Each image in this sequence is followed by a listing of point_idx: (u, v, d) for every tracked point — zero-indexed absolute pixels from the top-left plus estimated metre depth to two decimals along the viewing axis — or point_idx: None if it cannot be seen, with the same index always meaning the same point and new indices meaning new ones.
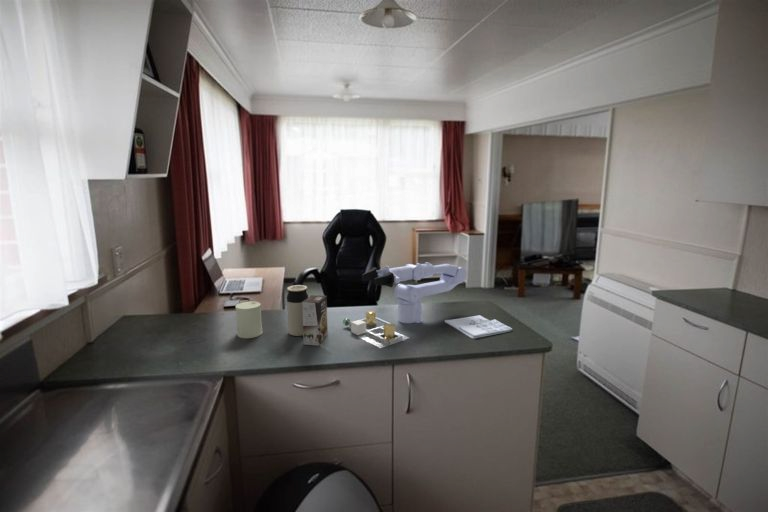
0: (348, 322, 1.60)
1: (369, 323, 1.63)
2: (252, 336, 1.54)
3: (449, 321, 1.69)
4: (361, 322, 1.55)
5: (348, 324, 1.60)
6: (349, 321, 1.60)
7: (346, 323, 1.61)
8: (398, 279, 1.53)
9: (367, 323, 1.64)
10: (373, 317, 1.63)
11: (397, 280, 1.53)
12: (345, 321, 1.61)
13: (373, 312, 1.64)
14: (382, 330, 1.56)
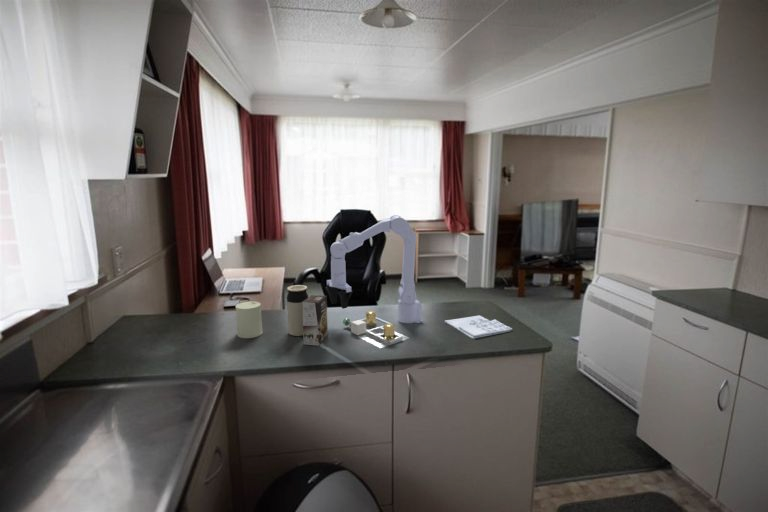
0: (348, 322, 1.60)
1: (369, 323, 1.63)
2: (252, 336, 1.54)
3: (449, 321, 1.69)
4: (361, 322, 1.55)
5: (348, 324, 1.60)
6: (349, 321, 1.60)
7: (346, 323, 1.61)
8: (348, 289, 1.57)
9: (367, 323, 1.64)
10: (373, 317, 1.63)
11: (349, 290, 1.58)
12: (345, 321, 1.61)
13: (373, 312, 1.64)
14: (382, 330, 1.56)
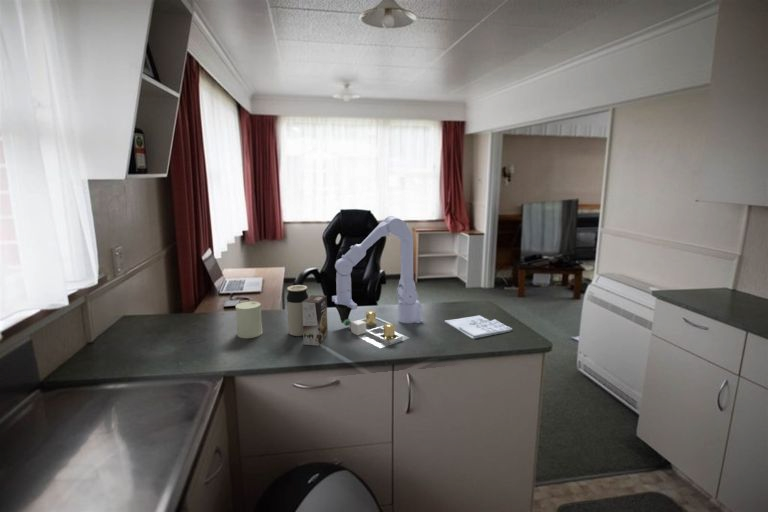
0: (348, 322, 1.60)
1: (369, 323, 1.63)
2: (252, 336, 1.54)
3: (449, 321, 1.69)
4: (361, 322, 1.55)
5: (348, 324, 1.60)
6: (349, 321, 1.60)
7: (346, 323, 1.61)
8: (354, 306, 1.56)
9: (367, 323, 1.64)
10: (373, 317, 1.63)
11: (354, 307, 1.56)
12: (345, 321, 1.61)
13: (373, 312, 1.64)
14: (382, 330, 1.56)
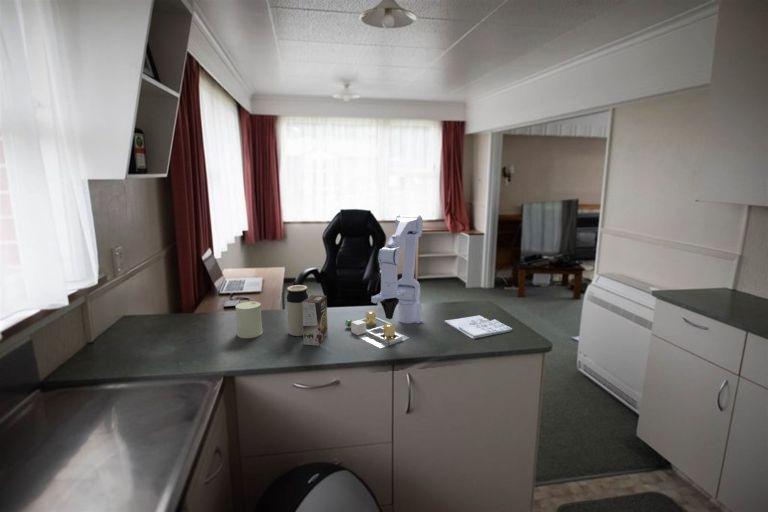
0: (350, 323, 1.59)
1: (369, 323, 1.63)
2: (252, 336, 1.54)
3: (449, 321, 1.69)
4: (361, 322, 1.55)
5: (350, 325, 1.59)
6: None
7: (348, 324, 1.60)
8: (372, 299, 1.42)
9: (367, 323, 1.64)
10: (373, 317, 1.63)
11: (372, 300, 1.42)
12: (347, 322, 1.60)
13: (373, 312, 1.64)
14: (382, 330, 1.56)
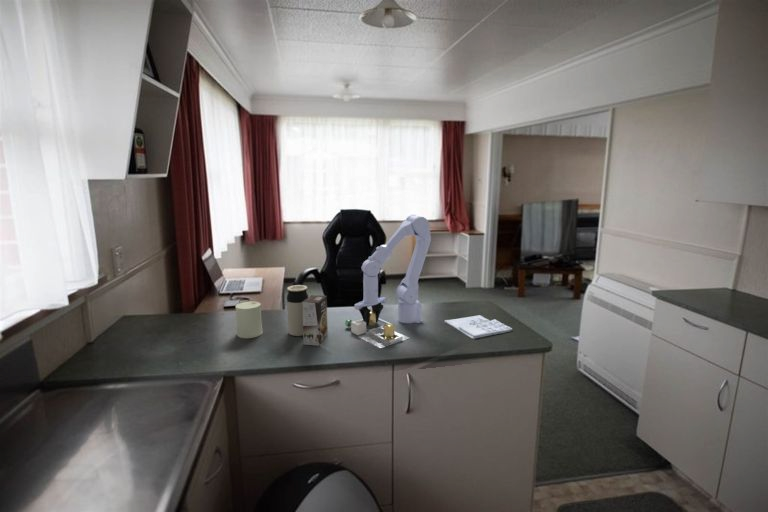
0: (350, 323, 1.59)
1: (369, 323, 1.63)
2: (252, 336, 1.54)
3: (449, 321, 1.69)
4: (361, 322, 1.55)
5: (350, 325, 1.59)
6: None
7: (348, 324, 1.60)
8: (355, 306, 1.59)
9: None
10: (373, 317, 1.63)
11: (355, 307, 1.59)
12: (347, 322, 1.60)
13: (373, 312, 1.64)
14: (382, 330, 1.56)
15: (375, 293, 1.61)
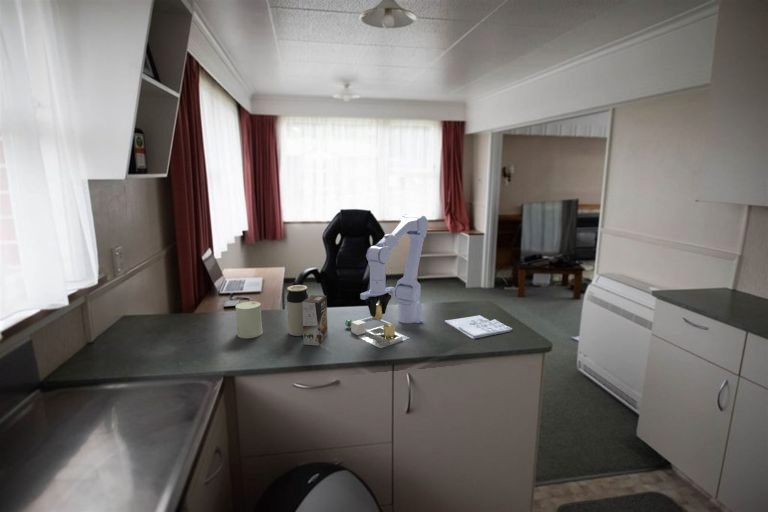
0: (350, 323, 1.59)
1: None
2: (252, 336, 1.54)
3: (449, 321, 1.69)
4: (361, 322, 1.55)
5: (350, 325, 1.59)
6: None
7: (348, 324, 1.60)
8: (361, 295, 1.47)
9: (372, 316, 1.52)
10: (379, 309, 1.51)
11: (361, 297, 1.47)
12: (347, 322, 1.60)
13: (379, 304, 1.52)
14: (382, 330, 1.56)
15: (383, 282, 1.48)
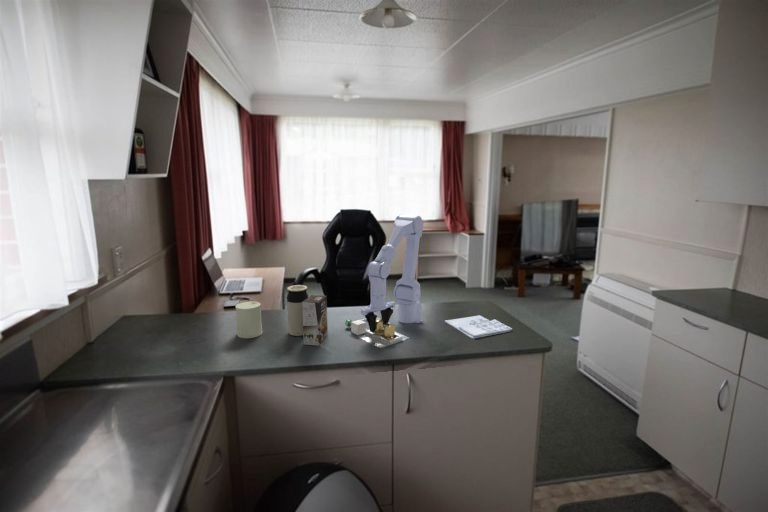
0: (350, 323, 1.59)
1: (375, 332, 1.52)
2: (252, 336, 1.54)
3: (449, 321, 1.69)
4: (361, 322, 1.55)
5: (350, 325, 1.59)
6: None
7: (348, 324, 1.60)
8: (361, 311, 1.47)
9: (373, 332, 1.53)
10: (380, 326, 1.52)
11: (362, 312, 1.47)
12: (347, 322, 1.60)
13: (380, 320, 1.53)
14: None
15: (383, 297, 1.49)
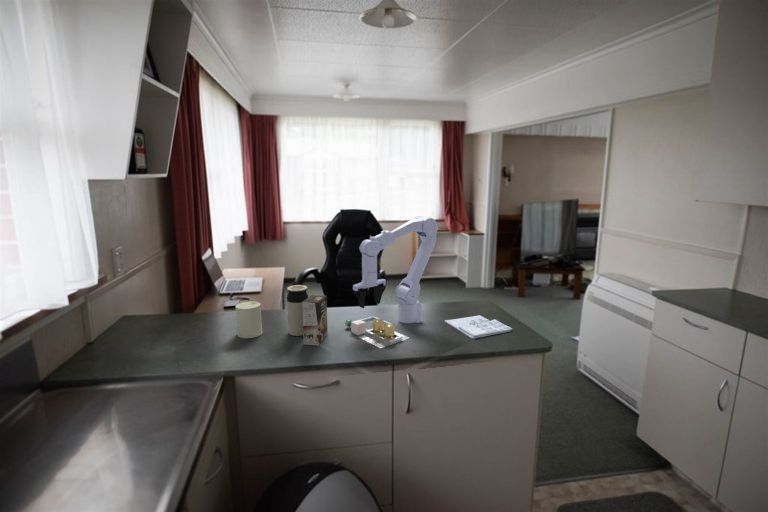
0: (350, 323, 1.59)
1: (375, 332, 1.52)
2: (252, 336, 1.54)
3: (449, 321, 1.69)
4: (361, 322, 1.55)
5: (350, 325, 1.59)
6: None
7: (348, 324, 1.60)
8: (353, 287, 1.55)
9: (373, 332, 1.53)
10: (380, 326, 1.52)
11: (354, 288, 1.55)
12: (347, 322, 1.60)
13: (380, 320, 1.53)
14: None
15: (374, 274, 1.56)
